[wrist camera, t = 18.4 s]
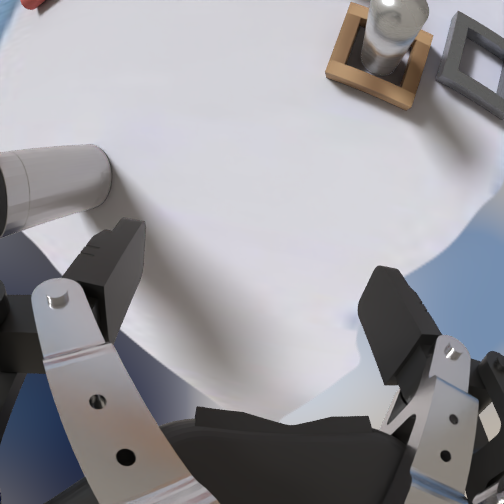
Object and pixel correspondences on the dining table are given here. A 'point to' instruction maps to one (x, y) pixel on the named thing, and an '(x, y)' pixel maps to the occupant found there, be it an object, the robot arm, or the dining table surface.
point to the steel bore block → (448, 72)
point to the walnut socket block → (367, 82)
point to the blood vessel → (31, 3)
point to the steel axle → (391, 32)
